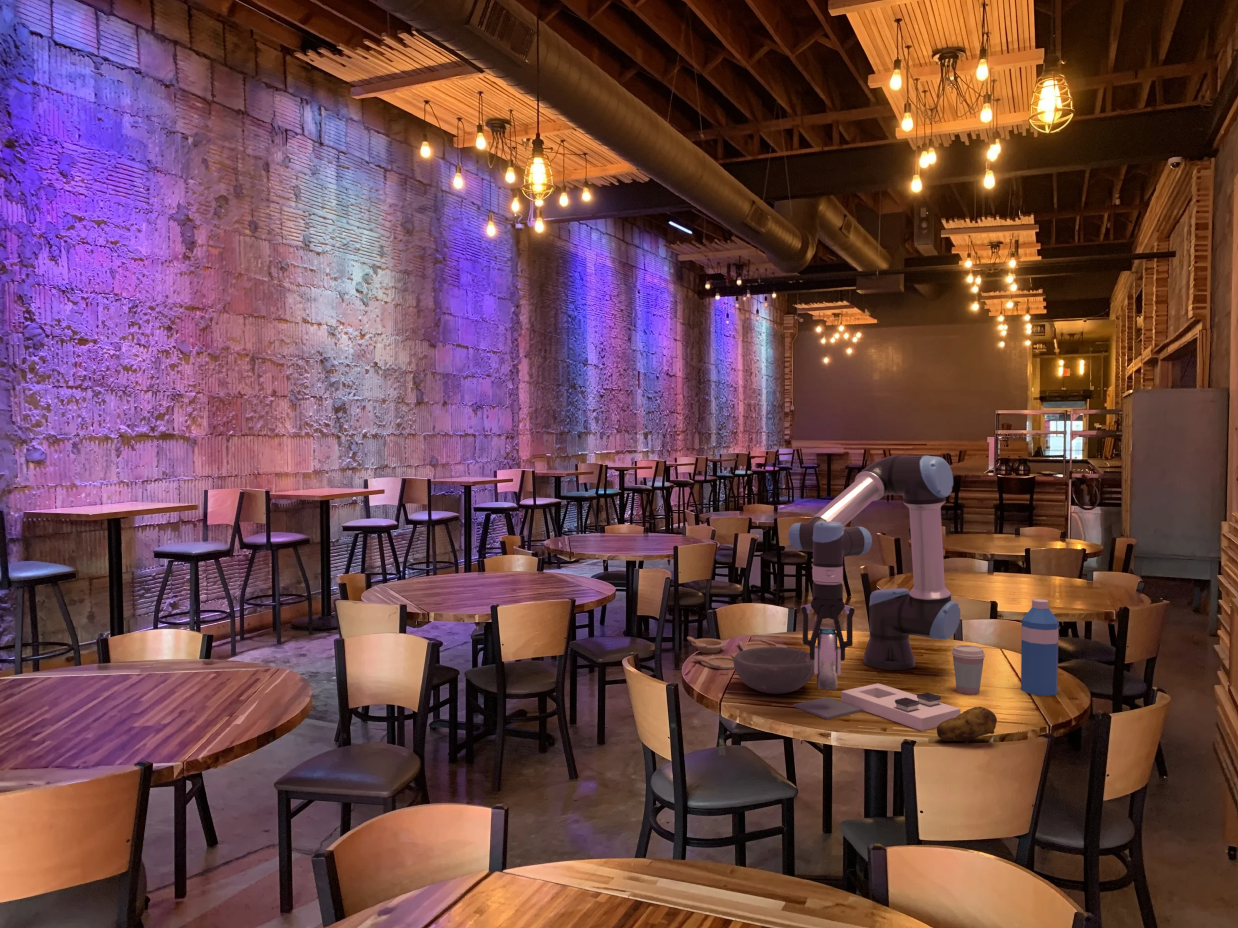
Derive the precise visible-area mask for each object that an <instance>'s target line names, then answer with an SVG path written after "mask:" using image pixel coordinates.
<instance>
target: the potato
mask: <svg viewBox="0 0 1238 928" xmlns="http://www.w3.org/2000/svg"><path fill="white" fill-rule="evenodd" d="M997 722H998V719H997V716H996V714H995V713H994V712H993V711H992V710H990V709H989V708H986V707H983V706H974V707H971V708H969V709H966V710H965V711H963V712H960V714H959V715H958V716H957V717H955V718H951V719H948V720H946V721H944V722H942V723H940V724H939V725H938V726H937V727H936V734H937V737H938V739H941V740H942V741H944V742H968V741H972V740H974V739H977V738H980V737H983V736H986V735H994V734H995V729H996V726H997Z"/></svg>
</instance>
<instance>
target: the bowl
mask: <svg viewBox="0 0 1238 928" xmlns="http://www.w3.org/2000/svg"><path fill="white" fill-rule="evenodd" d="M736 653H737V654H736V655H735V657H734V667H735V669H734V670H735V672H736V675H737V676H738V678H739V679H740V680H741V681H742V682H743V683H744V684H745V685H746V686H748V687H750V688H751V689H753V690H756V691H758V692H761V693H766V694H774V695H777V694H779V695H782V694H789V693H792V692H796V691H798V690H799V689H801V688H803V686H805V685H806V684H807V683H808V682H809V681H810V680H811V679H812V678H813V676H814V675H815V673H814V660H811V659H810V652H808V651H806V650H803V649H799V648H793V647H788V648H785V647H761V648H753V649H747V650H741V651H738V652H736Z"/></svg>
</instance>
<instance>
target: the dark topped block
mask: <svg viewBox="0 0 1238 928" xmlns="http://www.w3.org/2000/svg"><path fill="white" fill-rule="evenodd" d="M916 695H917V698H918V701H919V704H921V705H925V706H928V707H933V706H938V705H939V702H940V701H941V700H942V699H941V696H940V695H937V694H934V693H932V692H931V693H930V692H924V693H923V692H922V693H919V694H916Z"/></svg>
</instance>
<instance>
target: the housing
mask: <svg viewBox="0 0 1238 928" xmlns="http://www.w3.org/2000/svg"><path fill="white" fill-rule="evenodd" d="M917 695H918V694H914V693H911V692H909V691H908V692H907V691H904V690H901V689H898V688H895V687H892V686H889V685H886V684H885V685H884V684H881V683H873V684H869V685H865V686H859V687H856V688H855V687H854V688H850V689H845V690H842V691H840V702H843V703H846V704H849V705H851V706H854V707H857V708H860V709H861V711H863V712H866V713H870V714H873V715H875V716H878V717H881V718H883V719H884V718H885V719H886V720H890V721H893V722H895V723H898V724H901V725H903V726H905V727H906V726H907V727H910V728H912V729H915V730H918V731H921V732H923V731H927V730H931V729H935V728H937V726H938V725H939V724H940V723H942V722H944V721H946V720H948V719H951V718H955V717H957V716H958V715H959V714H961V708H959V707H955V706H952V705H949V704H946V703H943V702H940V701H939V705H938V706H933V707H928V706H925V705H921V704H919V705H918V710H917V711H913V712H909V713H908V712H905V711H902V710H899V709H896V703H895V700H897V699H901V698H909V699H913V700H916V701H918V698H917Z"/></svg>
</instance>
